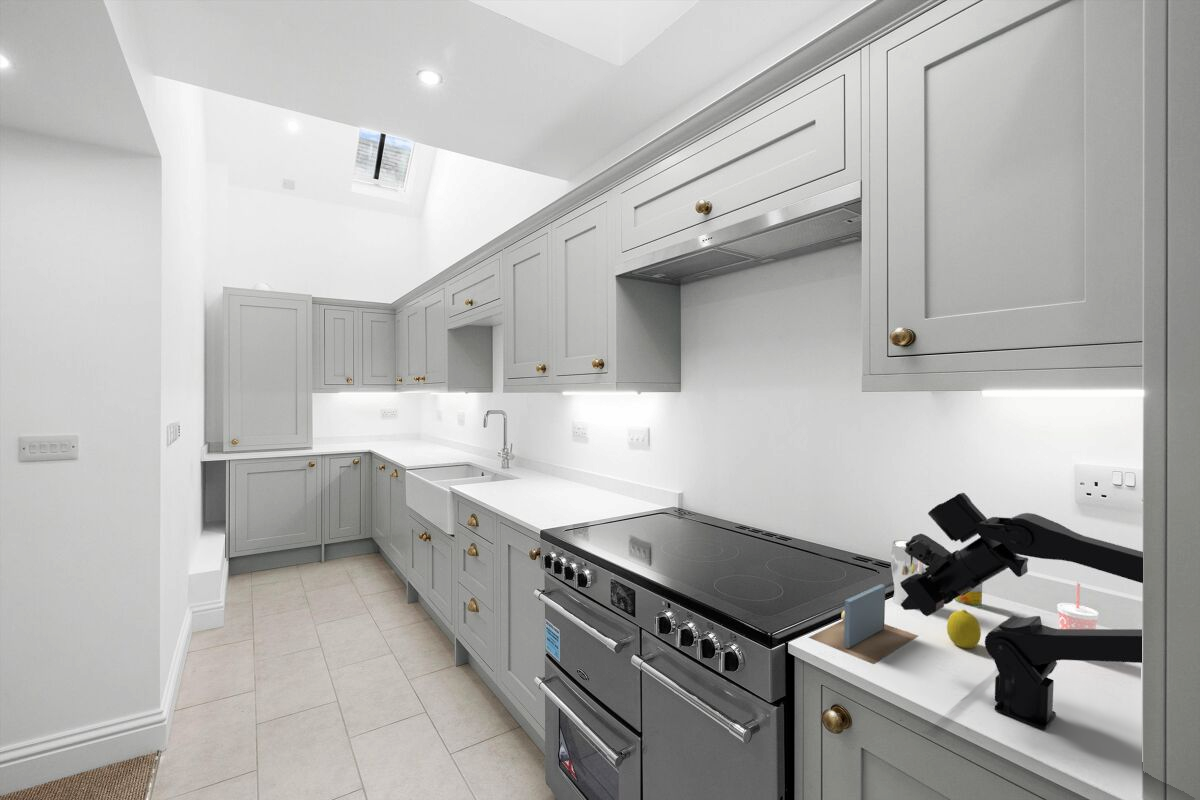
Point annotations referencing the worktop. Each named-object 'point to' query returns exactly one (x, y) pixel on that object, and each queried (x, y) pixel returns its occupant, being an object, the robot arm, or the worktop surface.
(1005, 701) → the robot arm
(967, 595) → the supplement bottle
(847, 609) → the door
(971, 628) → the lemon
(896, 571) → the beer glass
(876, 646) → the brown flat rectangle
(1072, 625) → the beverage cup
